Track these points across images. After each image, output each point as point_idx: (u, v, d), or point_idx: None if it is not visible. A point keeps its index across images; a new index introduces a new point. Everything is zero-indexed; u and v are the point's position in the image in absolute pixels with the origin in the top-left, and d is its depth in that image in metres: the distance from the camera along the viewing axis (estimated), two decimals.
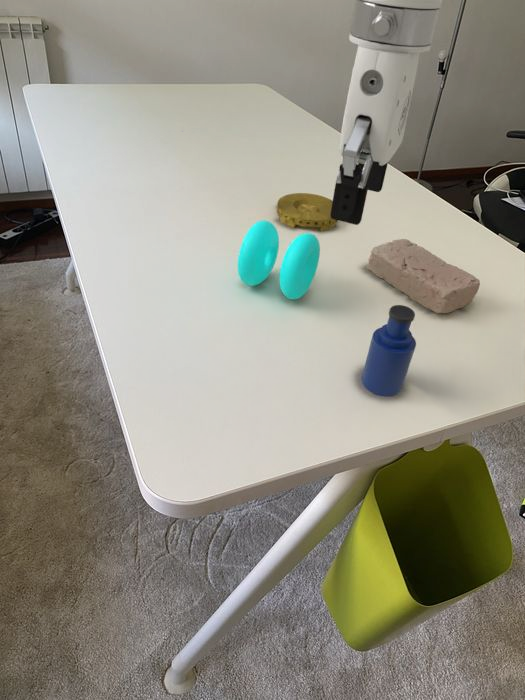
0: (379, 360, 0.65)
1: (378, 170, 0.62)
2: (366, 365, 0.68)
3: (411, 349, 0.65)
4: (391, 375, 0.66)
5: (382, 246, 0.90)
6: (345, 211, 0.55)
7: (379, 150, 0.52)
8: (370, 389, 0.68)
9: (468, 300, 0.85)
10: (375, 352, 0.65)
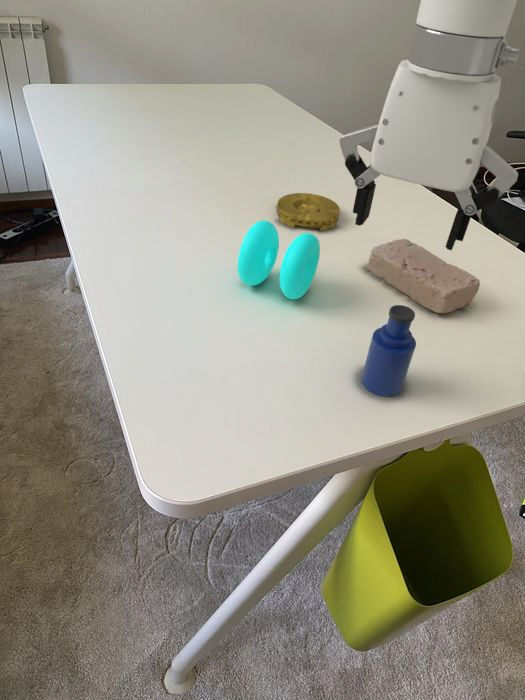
0: (379, 360, 0.65)
1: (372, 197, 0.59)
2: (366, 365, 0.68)
3: (411, 349, 0.65)
4: (391, 375, 0.66)
5: (382, 246, 0.90)
6: (464, 234, 0.56)
7: None
8: (370, 389, 0.68)
9: (468, 300, 0.85)
10: (375, 352, 0.65)
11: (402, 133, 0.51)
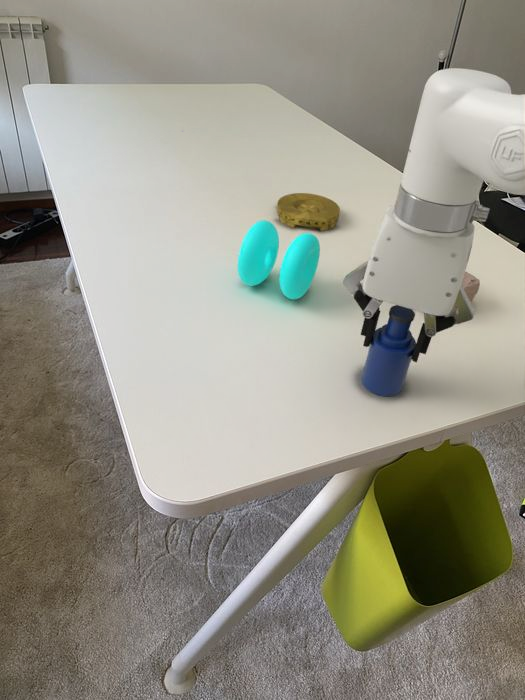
0: (379, 360, 0.65)
1: (377, 321, 0.66)
2: (366, 365, 0.68)
3: (411, 349, 0.65)
4: (391, 375, 0.66)
5: None
6: None
7: None
8: (370, 389, 0.68)
9: None
10: (375, 352, 0.65)
11: (390, 269, 0.58)
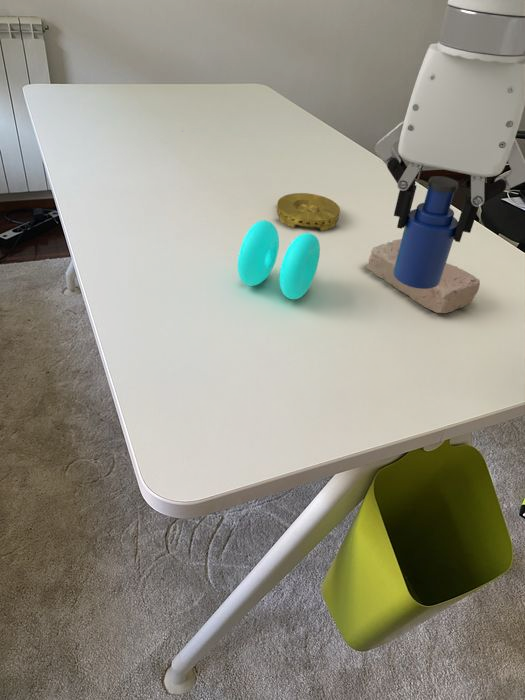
0: (416, 242, 0.57)
1: (412, 199, 0.58)
2: (400, 253, 0.60)
3: (453, 227, 0.56)
4: (430, 261, 0.58)
5: (382, 246, 0.90)
6: None
7: None
8: (404, 281, 0.60)
9: (468, 300, 0.85)
10: (411, 233, 0.57)
11: (433, 118, 0.50)
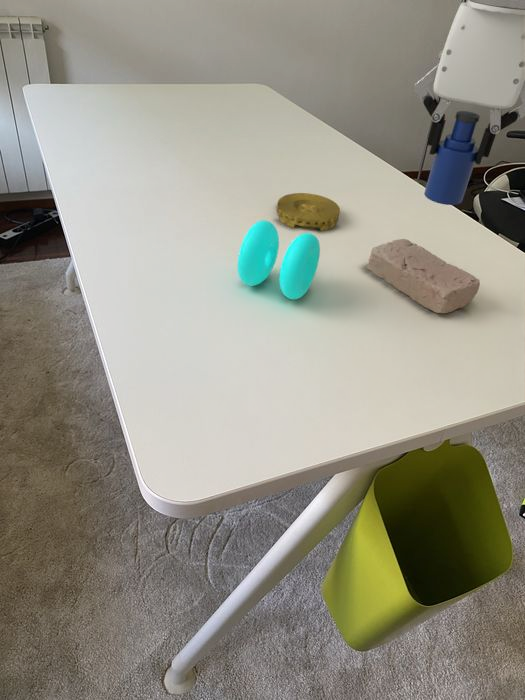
0: (445, 165, 0.71)
1: (442, 131, 0.72)
2: (430, 176, 0.74)
3: (475, 152, 0.71)
4: (456, 180, 0.72)
5: (382, 246, 0.90)
6: None
7: None
8: (434, 199, 0.74)
9: (468, 300, 0.85)
10: (441, 157, 0.72)
11: (462, 60, 0.64)
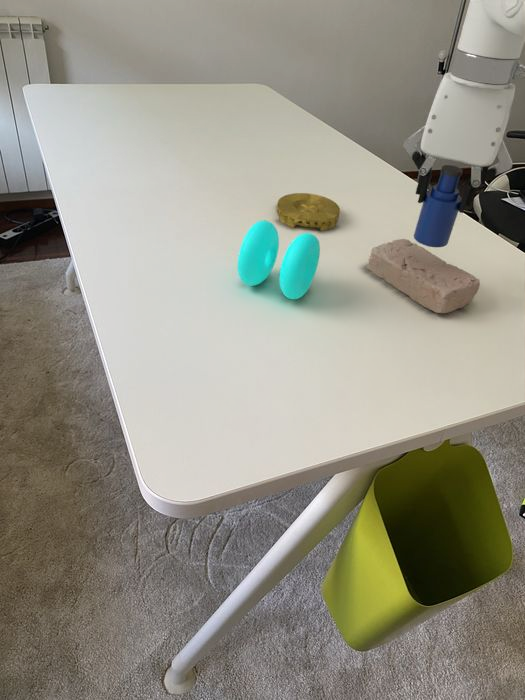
0: (431, 212, 0.79)
1: (429, 181, 0.80)
2: (419, 221, 0.82)
3: (458, 201, 0.79)
4: (441, 226, 0.80)
5: (382, 246, 0.90)
6: None
7: None
8: (422, 242, 0.82)
9: (468, 300, 0.85)
10: (428, 206, 0.79)
11: (446, 124, 0.72)
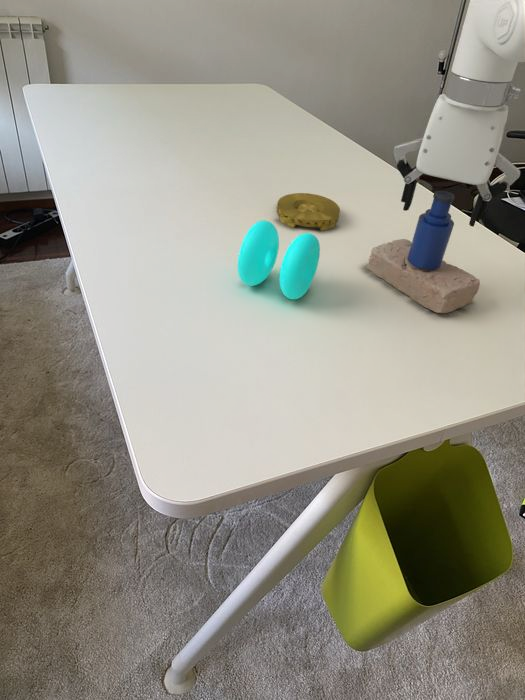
0: (424, 236, 0.82)
1: (414, 189, 0.82)
2: (412, 244, 0.84)
3: (450, 226, 0.81)
4: (434, 249, 0.82)
5: (382, 246, 0.90)
6: (482, 215, 0.79)
7: None
8: (415, 264, 0.85)
9: (468, 300, 0.85)
10: (421, 230, 0.82)
11: (440, 145, 0.74)
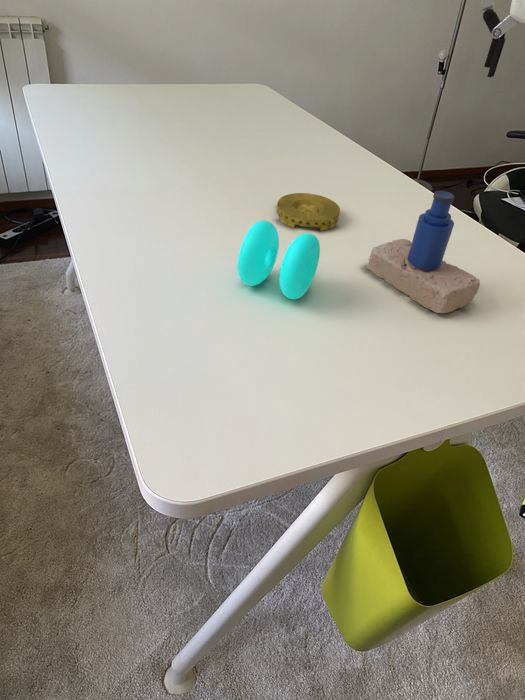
0: (424, 236, 0.82)
1: None
2: (412, 244, 0.84)
3: (450, 226, 0.81)
4: (434, 249, 0.82)
5: (382, 246, 0.90)
6: None
7: None
8: (415, 264, 0.85)
9: (468, 300, 0.85)
10: (421, 230, 0.82)
11: None
